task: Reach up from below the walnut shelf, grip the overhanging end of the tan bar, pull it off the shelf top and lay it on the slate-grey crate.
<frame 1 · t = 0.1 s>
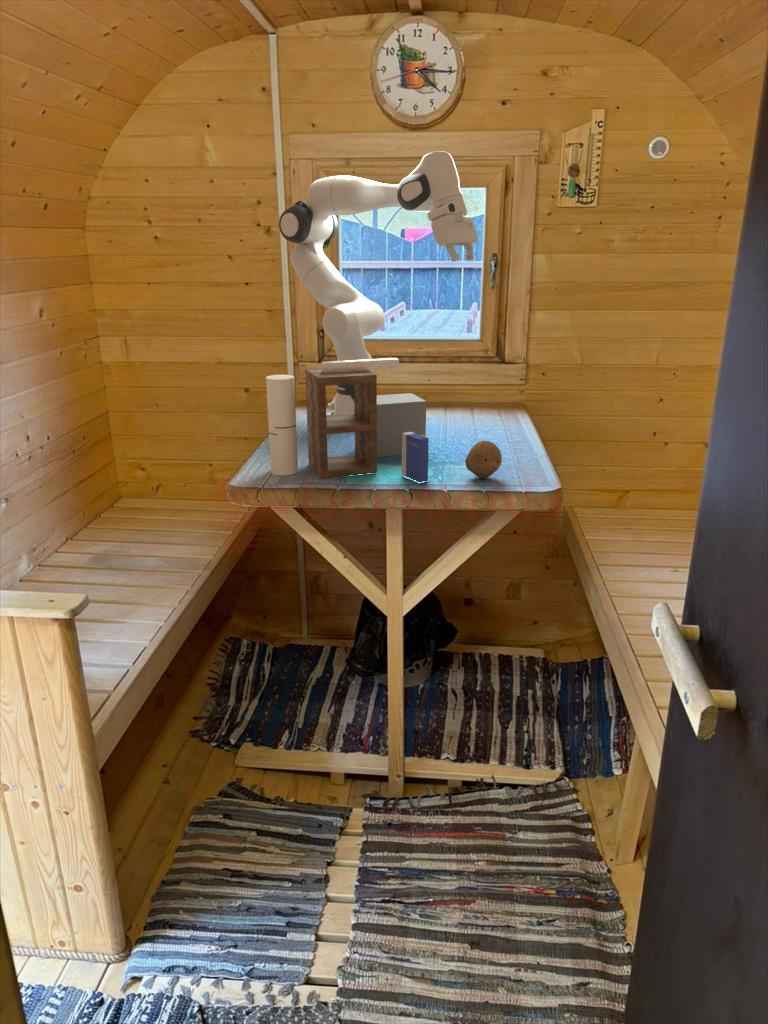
hand: (463, 260, 215), 52 cm above the table, tool tilted 20°, fingers open, 8 cm apart
cylindrical container: (284, 472, 202), on the table
walkman: (414, 480, 195), on the table
walnut shelf: (342, 469, 203), on the table
tan bar: (360, 370, 196), point 26 cm above the table, touching walnut shelf
natural sponge: (483, 479, 195), on the table
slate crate: (392, 449, 222), on the table
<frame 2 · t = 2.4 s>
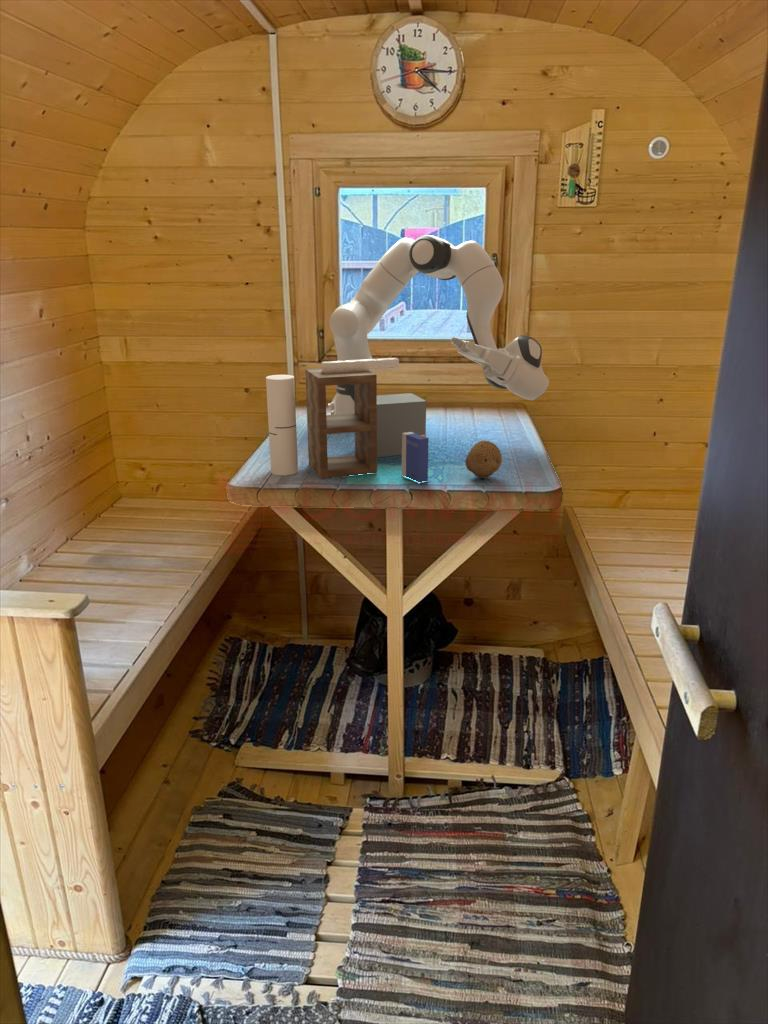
hand: (459, 341, 202), 32 cm above the table, tool pointing upward, fingers open, 8 cm apart
nothing on the table moved.
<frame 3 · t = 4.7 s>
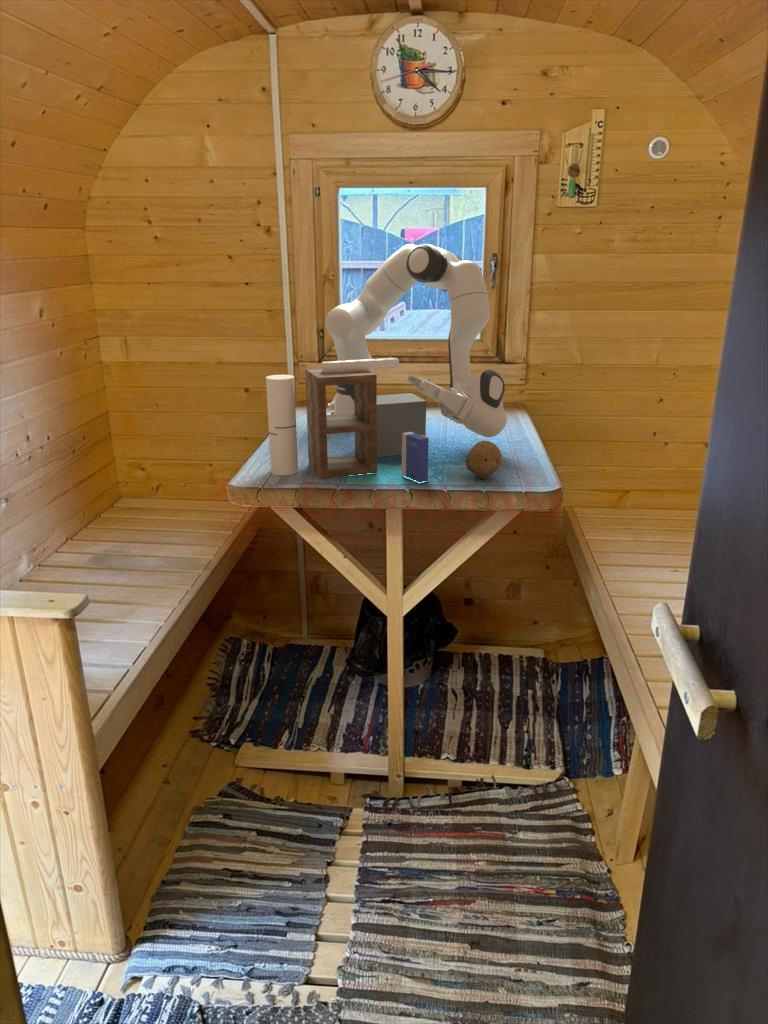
hand: (414, 380, 202), 22 cm above the table, tool pointing upward, fingers open, 8 cm apart
nothing on the table moved.
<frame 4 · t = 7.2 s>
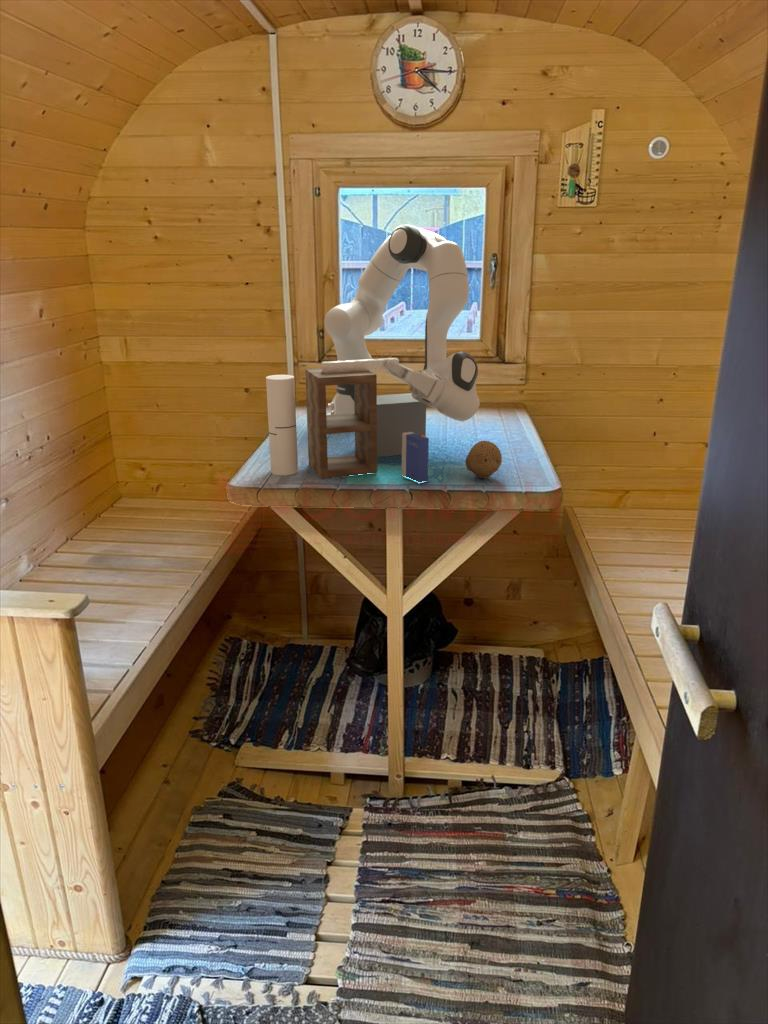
hand: (383, 362, 197), 28 cm above the table, tool pointing upward, fingers closed on tan bar, 3 cm apart
tan bar: (360, 370, 196), point 26 cm above the table, touching gripper, walnut shelf
everything else where it was.
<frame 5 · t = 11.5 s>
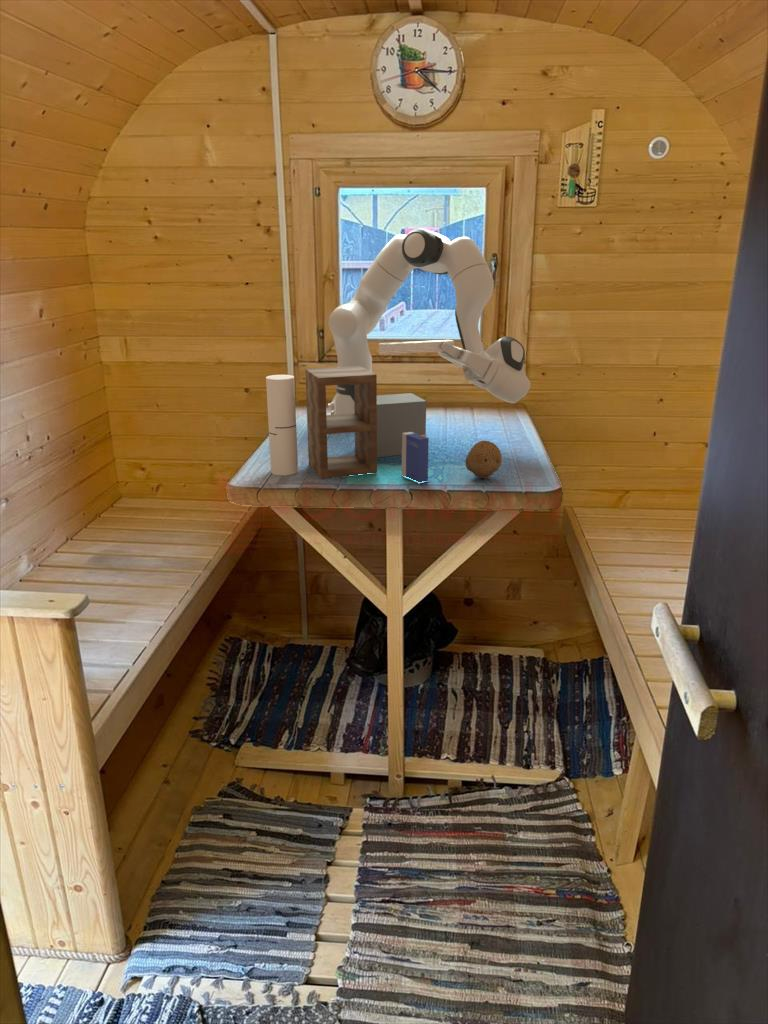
hand: (438, 344, 201), 32 cm above the table, tool pointing upward, fingers closed on tan bar, 3 cm apart
tan bar: (416, 352, 199), point 30 cm above the table, touching gripper
everything else where it was.
when the fingers open (19 cm above the table, at t = 15.7 s): tan bar drops 2 cm, resting on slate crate.
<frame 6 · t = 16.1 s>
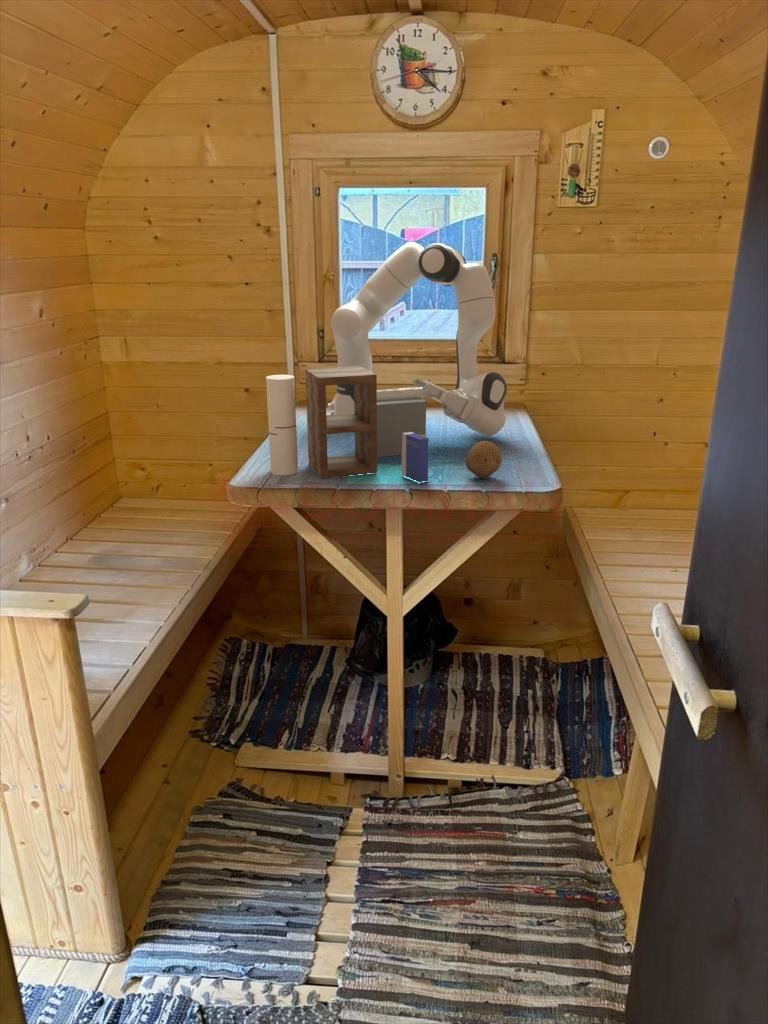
hand: (419, 383, 217), 19 cm above the table, tool pointing upward, fingers open, 7 cm apart
tan bar: (399, 398, 217), point 15 cm above the table, touching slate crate
everything else where it was.
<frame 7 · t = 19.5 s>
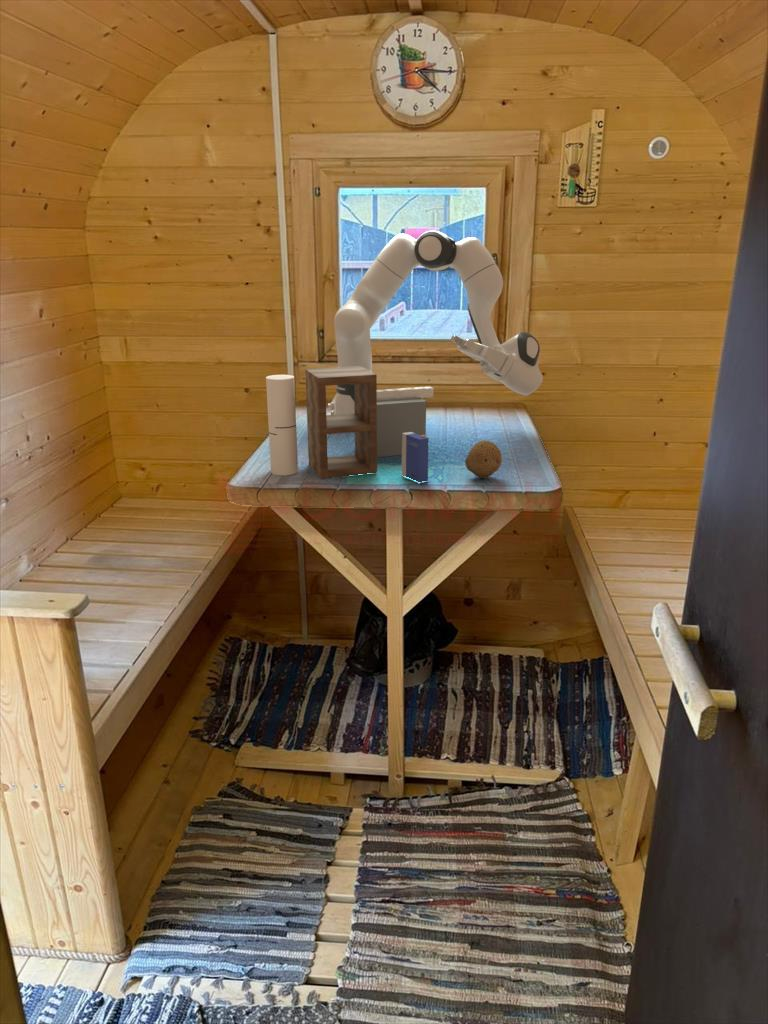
hand: (459, 339, 217), 31 cm above the table, tool pointing upward, fingers open, 8 cm apart
nothing on the table moved.
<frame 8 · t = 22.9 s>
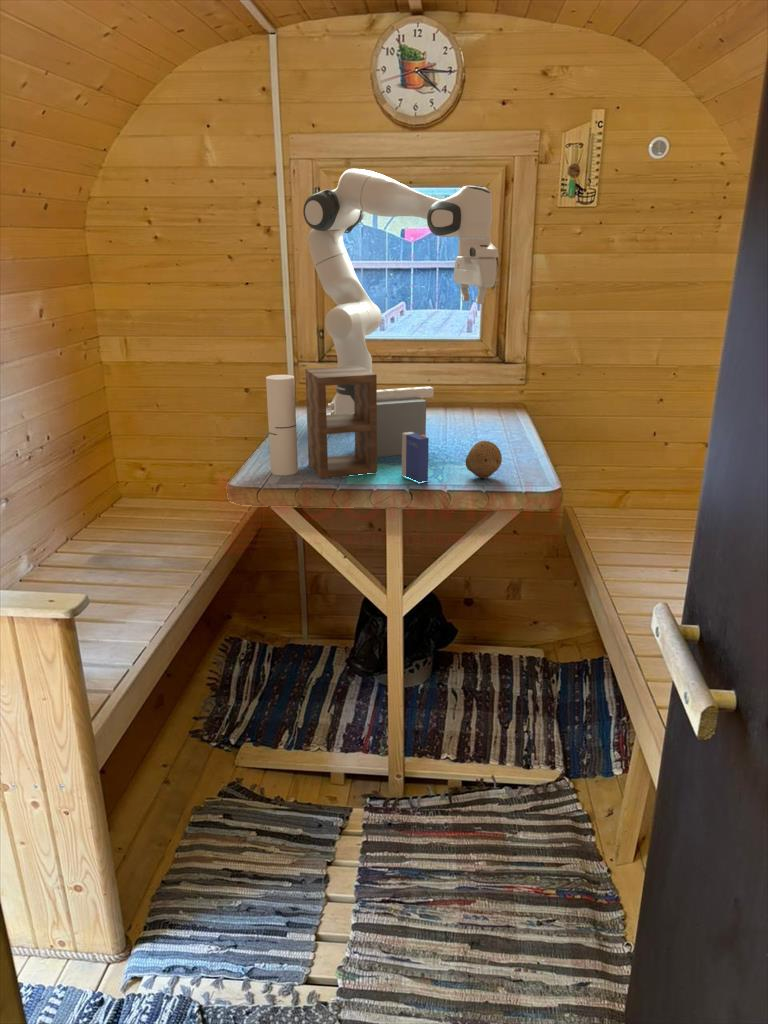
hand: (472, 302, 212), 41 cm above the table, tool pointing down, fingers open, 8 cm apart
nothing on the table moved.
at the end: tan bar inside the target area on the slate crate (0.1 cm from its centre), point 15.0 cm above the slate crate's base; tan bar touching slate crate; the gripper is holding nothing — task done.
